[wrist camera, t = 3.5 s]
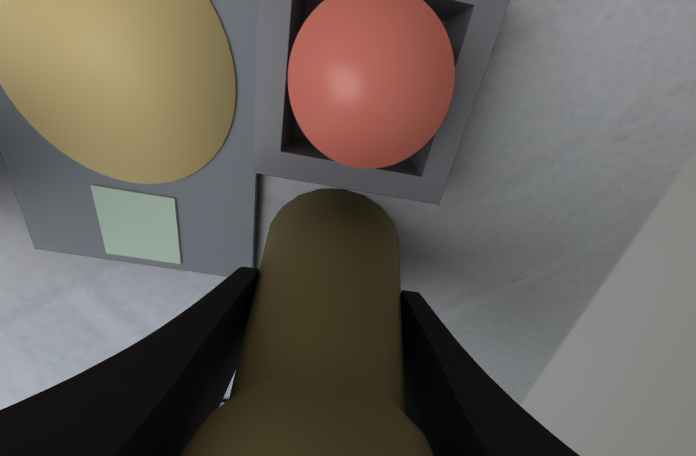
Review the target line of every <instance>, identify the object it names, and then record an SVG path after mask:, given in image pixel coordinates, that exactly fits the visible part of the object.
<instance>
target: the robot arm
mask: <svg viewBox="0 0 696 456" xmlns="http://www.w3.org/2000/svg"><path fill="white" fill-rule="evenodd" d="M258 276H259V269H256V268H250V267H243V266H241V267H240V268H238V269H237V270H236V271H234V272H233V273H232V274H231V275H230V276H229V277H227V278H226V279H225V280H224V281H223V282H221V283H220V284H219V285H218V286H216V287H215V288H214V289H213V290H212V291H210V292H209V293H208V294H206V295H205V296H204V297H203V298H201V299H200V300H199V301H197V302H196V303H195V304H193V305H192V306H191V307H189V308H188V309H187V310H185V311H184V312H182V313H181V314H180V315H178V316H177V317H175V318H174V319H172V320H171V321H170V322H168V323H167V324H165V325H164V326H162V327H161V328H159V329H158V330H156V331H155V332H153V333H151V334H150V335H148V336H147V337H145V338H143V339H142V340H140V341H138V342H137V343H135V344H133V345H132V346H130V347H128V348H127V349H125V350H123V351H121V352H119V353H118V354H116V355H114V356H112V357H110V358H108V359H106V360H104V361H103V362H101V363H99V364H97V365H95V366H93V367H91V368H89V369H87V370H86V371H84V372H82V373H80V374H78V375H76V376H74V377H72V378H70V379H68V380H66V381H63V382H61V383H59V384H57V385H55V386H53V387H51V388H49V389H47V390H44V391H42V392H40V393H38V394H36V395H34V396H31V397H29V398H27V399H25V400H23V401H20V402H18V403H16V404H14V405H11V406H9V407H7V408H4V409H2V410H0V456H178V454H179V453H180V452H181V450H182V449H183V447H184V446H185V445H186V443H187V442H188V440H189V439H190V438H191V436H192V435H193V433H194V432H195V431H196V430H197V429H198V427H199V426H200V425H201V424H202V423H203V422H204V421H205V419H206V418H207V417H208V416H209V415H210V414H211V413H212V412H213V411H215V410H216V409H217V408H219V407H220V406H221V405H223V404H224V403H225V402H221V401H222V399H223V397H224V395H225V393H226V390H227V388H228V386H229V384H230V381H231V379H232V377H233V375H234V372H235V370H236V368H237V364H238V360H239V355H240V351H241V347H242V343H243V338H244V334H245V330H246V326H247V321H248V317H249V313H250V309H251V304H252V300H253V296H254V292H255V288H256V283H257V279H258ZM401 315H402V342H403V369H404V395H405V415H406V416H407V417H408V418H409V419H410V420H411V421H412V422H413V423H414V424H415V425H416V426H417V427H418V428H419V429H420V431H421V432H422V433H423V434H424V435H425V437H426V439H427V442H428V444H429V446H430V448H431V450H432V453H433V455H434V456H579V455H578V454H577V453H576V452H574V451H573V450H572V449H570V448H569V447H567V446H566V445H565V444H564V443H563V442H562V441H560V440H559V439H558V438H557V437H556V436H554V435H553V434H552V433H551V432H549V431H548V430H547V429H546V428H545V427H544V426H542V425H541V424H540V423H539V422H538V421H537V420H535V419H534V418H533V417H532V416H531V415H530V414H529V413H527V412H526V411H525V410H524V409H523V408H522V407H521V406H520V405H518V404H517V403H516V402H515V401H514V400H513V399H512V398H511V397H510V396H509V395H508V394H507V393H506V392H505V391H504V390H503V389H502V388H501V387H499V386H498V385H497V384H496V383H495V382H494V381H493V380H492V379H491V378H490V377H489V376H488V375H487V374H486V373H485V372H484V370H483V369H482V368H481V367H480V366H479V365H478V364H477V363H476V362H475V361H474V360H473V358H472V357H471V356H470V355H469V354H468V353H467V352H466V351H465V350H464V348H463V347H462V346H461V345H460V344H459V343H458V341H457V340H456V339H455V338H454V337H453V335H452V334H451V333H450V332H449V330H448V329H447V328H446V327H445V325H444V324H443V323H442V322H441V320H440V319H439V318H438V317H437V315H436V314H435V313H434V311H433V310H432V309H431V307H430V306H429V305H428V304H427V302H426V301H425V300H424V298H423V297H422V296H421V295H420V293H418V292H412V291H405V290H402V292H401Z"/></svg>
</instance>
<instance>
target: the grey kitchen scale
mask: <svg viewBox="0 0 696 456" xmlns="http://www.w3.org/2000/svg"><path fill="white" fill-rule="evenodd" d="M257 20H258V0H0V153H1V156H2V158H3V161H4V164H5V167H6V169H7V172H8V175H9V178H10V181H11V183H12V186H13V189H14V192H15V194H16V197H17V200H18V203H19V205H20V208H21V211H22V214H23V216H24V219H25V222H26V225H27V228H28V230H29V233H30V236H31V239H32V241H33V244H34V247H35V249H40V250H47V251H54V252H61V253H68V254H75V255H82V256H89V257H96V258H102V259H109V260H116V261H123V262H130V263H137V264H144V265H151V266H158V267H165V268H172V269H178V270H185V271H192V272H199V273H206V274H213V275H220V276H227V277H229V276H230V275H231V274H232V273H233V272H234V271H236V270H237V269H238V268H240V267H241V266H243V267H250V268H255V244H256V219H257V195H258V173H253V146H254V114H255V83H256V51H257Z"/></svg>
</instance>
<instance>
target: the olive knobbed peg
mask: <svg viewBox="0 0 696 456" xmlns="http://www.w3.org/2000/svg"><path fill="white" fill-rule="evenodd" d="M178 456H434V455H433V453H432V450H431V448H430V446H429V444H428V442H427V439H426V437H425V435H424V434H423V433H422V432H421V431H420V429H419V428H418V427H417V426H416V425H415V424H414V423H413V422H412V421H411V420H410V419H409V418H408V417H407V416H406V415H405V395H404V369H403V342H402V315H401V288H400V261H399V241H398V238H397V234H396V231H395V227H394V224H393V223H392V221H391V220H390V219H389V217H388V216H387V214H386V213H385V212H384V210H383V209H382V208H381V207H379V206H378V205H377V204H375V203H374V202H372V201H371V200H369V199H368V198H367V197H365V196H363V195H360V194H357V193H353V192H350V191H347V190H344V189H318V190H315V191H312V192H309V193H305V194H302V195H299V196H297V197H296V198H294V199H293V200H292V201H290V202H289V203H287V204H286V205H285V206H283V207H282V208H281V209H280V211H279V212H278V214H277V215H276V217H275V218H274V219H273V221H272V222H271V224H270V228H269V232H268V237H267V241H266V245H265V249H264V254H263V258H262V262H261V266H260V271H259V276H258V279H257V283H256V288H255V292H254V296H253V300H252V304H251V309H250V313H249V317H248V321H247V326H246V330H245V334H244V338H243V343H242V347H241V351H240V355H239V360H238V364H237V368H236V372H235V377H234V381H233V385H232V389H231V393H230V398H229V400H228V401H227V402H225V403H224V404H223V405H221V406H220V407H219V408H217V409H216V410H215V411H213V412H212V413H211V414H210V415H209V416H208V417H207V418H206V419H205V421H204V422H203V423H202V424H201V425H200V426H199V427H198V429H197V430H196V431H195V432H194V433H193V435H192V436H191V438H190V439H189V440H188V442H187V443H186V445H185V446H184V447H183V449H182V450H181V452H180V453H179V454H178Z"/></svg>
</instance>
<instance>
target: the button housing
mask: <svg viewBox="0 0 696 456" xmlns="http://www.w3.org/2000/svg"><path fill="white" fill-rule="evenodd" d="M323 1H324V0H258V20H257V51H256V83H255V114H254V146H253V173H258V174H264V175H270V176H275V177H281V178H287V179H293V180H299V181H304V182H310V183H316V184H322V185H327V186H333V187H339V188H345V189H351V190H356V191H362V192H368V193H374V194H380V195H385V196H391V197H397V198H403V199H408V200H414V201H420V202H426V203H432V204H437V205H439V202H440V199H441V196H442V193H443V190H444V188H445V185H446V182H447V179H448V176H449V173H450V170H451V167H452V165H453V162H454V159H455V156H456V153H457V150H458V147H459V144H460V142H461V139H462V136H463V133H464V130H465V127H466V124H467V121H468V119H469V116H470V113H471V110H472V107H473V104H474V101H475V99H476V96H477V93H478V90H479V87H480V84H481V81H482V78H483V76H484V73H485V70H486V67H487V64H488V61H489V58H490V55H491V53H492V50H493V47H494V44H495V41H496V38H497V35H498V32H499V30H500V27H501V24H502V21H503V18H504V15H505V12H506V9H507V7H508V4H509V1H510V0H423V1H424V2H425V3H426V4H427V5H428V6H429V7H430V8H431V9H432V10H433V11H434V12H435V14H436V15H437V16H438V18H439V19H440V21H441V22H442V24H443V26H444V28H445V30H446V32H447V35H448V37H449V40H450V43H451V47H452V51H453V55H454V65H455V81H454V88H453V94H452V98H451V102H450V105H449V108H448V110H447V113H446V115H445V117H444V119H443V121H442V123H441V125H440V127H439V128H438V130H437V131H436V133H435V134H434V135H433V136H432V138H431V139H430V140H429V141H428V142H427V143H426V144H425V145H424V146H423V147H422V148H421V149H420V150H419V151H417V152H416V153H414V154H413V155H412V156H410V157H408V158H407V159H405V160H403V161H401V162H398V163H396V164H394V165H390V166H387V167H382V168H375V169H362V168H354V167H350V166H346V165H343V164H341V163H338V162H336V161H334V160H332V159H330V158H329V157H327V156H326V155H324V154H323V153H322V152H320V151H319V150H318V149H317V148H316V147H315V146H314V145H313V144H312V143H311V142H310V141H309V140H308V138H307V137H306V136H305V134H304V133H303V131H302V130H301V128H300V126H299V124H298V122H297V120H296V118H295V115H294V113H293V110H292V107H291V103H290V98H289V91H288V66H289V59H290V55H291V51H292V47H293V44H294V42H295V39H296V37H297V34H298V33H299V31H300V29H301V27H302V25H303V24H304V22H305V21H306V19H307V18H308V17H309V15H310V14H311V13H312V12H313V11H314V10H315V9H316V7H317V6H318V5H319V4H320V3H322V2H323Z"/></svg>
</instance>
